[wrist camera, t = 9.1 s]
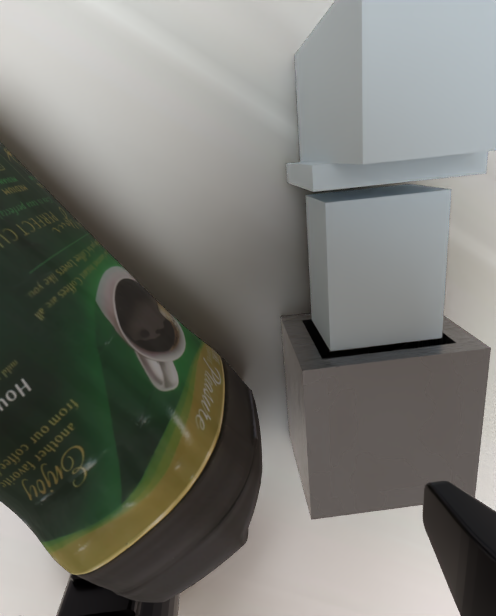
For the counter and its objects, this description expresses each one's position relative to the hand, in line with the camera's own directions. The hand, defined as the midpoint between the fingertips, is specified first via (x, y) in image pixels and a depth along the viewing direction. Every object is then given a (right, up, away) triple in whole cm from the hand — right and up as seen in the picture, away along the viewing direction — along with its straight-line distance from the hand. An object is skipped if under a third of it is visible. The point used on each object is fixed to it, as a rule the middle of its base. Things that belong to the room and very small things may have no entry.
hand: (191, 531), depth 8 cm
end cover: (+6, +10, +11) cm, 16 cm away
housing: (+6, +1, +14) cm, 15 cm away
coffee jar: (-13, +9, +5) cm, 16 cm away
